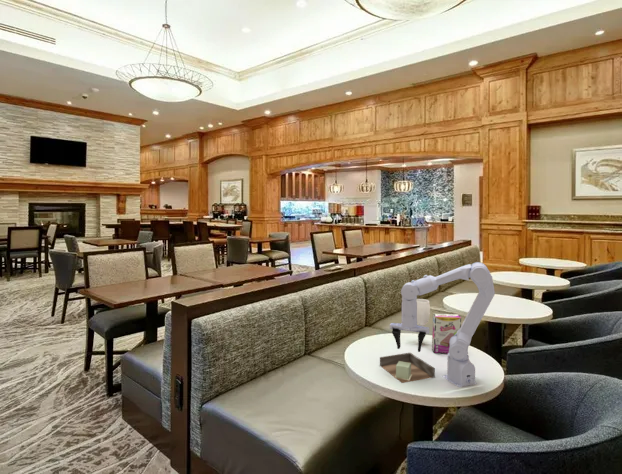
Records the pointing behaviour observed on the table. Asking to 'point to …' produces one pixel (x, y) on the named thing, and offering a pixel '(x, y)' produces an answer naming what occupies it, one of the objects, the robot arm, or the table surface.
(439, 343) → the candy bar box
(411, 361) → the tray
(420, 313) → the cup
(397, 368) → the sage cube
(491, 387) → the table surface
